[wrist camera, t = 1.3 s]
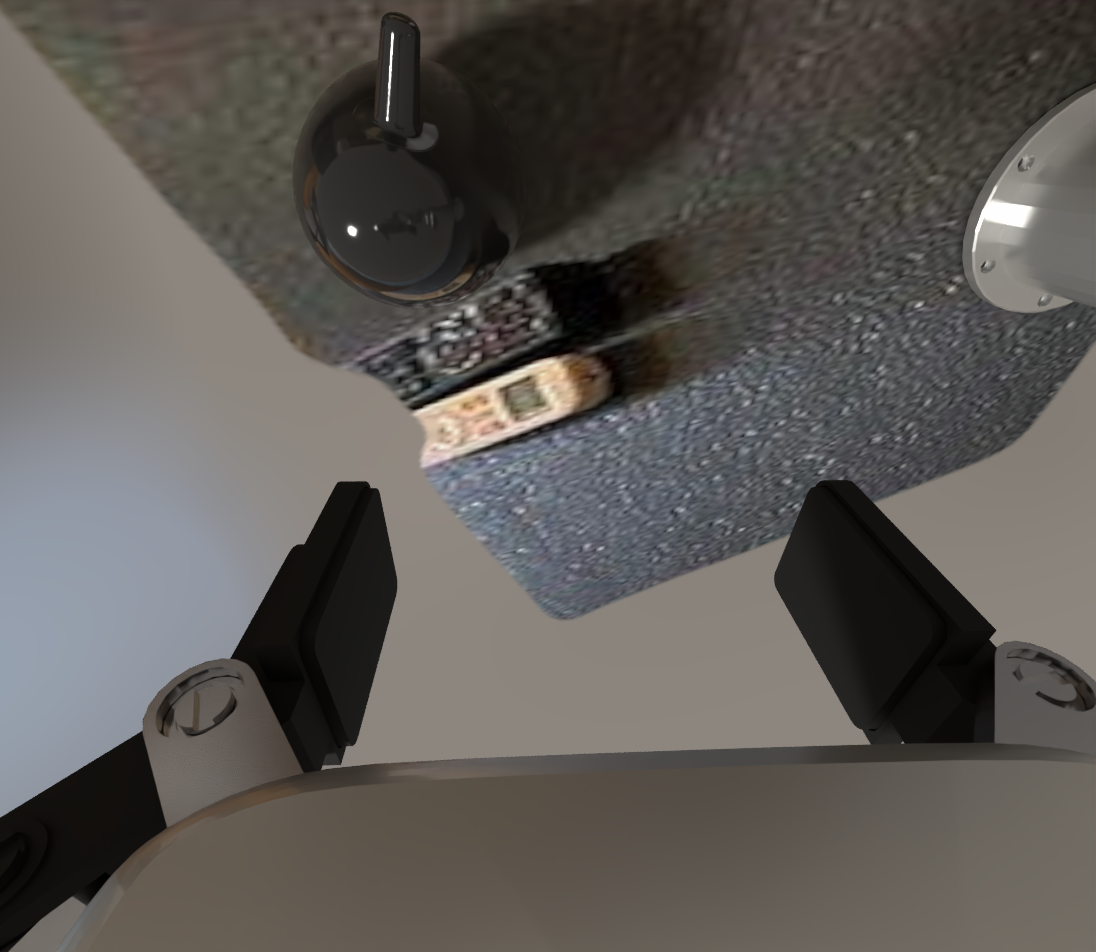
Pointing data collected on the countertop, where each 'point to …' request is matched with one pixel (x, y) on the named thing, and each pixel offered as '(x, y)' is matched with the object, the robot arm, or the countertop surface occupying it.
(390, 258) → the pump dispenser
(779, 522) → the countertop surface
